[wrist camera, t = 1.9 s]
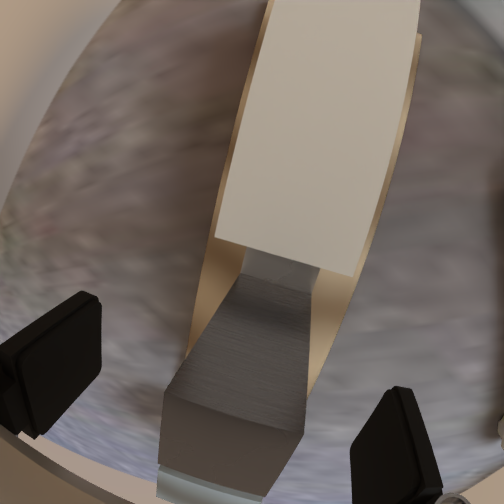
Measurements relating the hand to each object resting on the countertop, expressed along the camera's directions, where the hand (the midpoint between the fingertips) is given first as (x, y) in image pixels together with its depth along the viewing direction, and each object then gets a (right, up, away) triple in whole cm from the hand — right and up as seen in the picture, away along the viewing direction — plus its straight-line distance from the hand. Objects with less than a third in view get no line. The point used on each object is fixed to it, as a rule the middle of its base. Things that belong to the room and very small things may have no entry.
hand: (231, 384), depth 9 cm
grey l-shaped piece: (+3, +5, +6) cm, 8 cm away
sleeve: (+4, +11, +7) cm, 14 cm away
